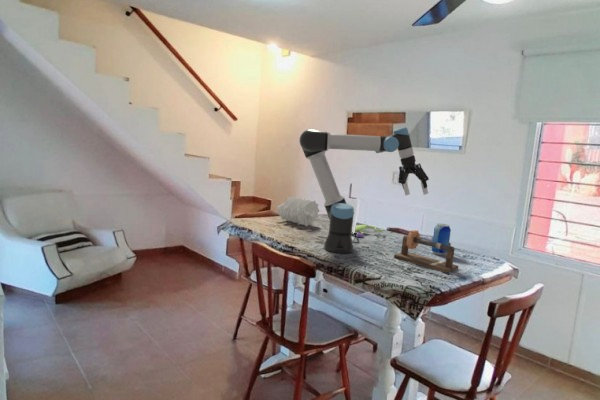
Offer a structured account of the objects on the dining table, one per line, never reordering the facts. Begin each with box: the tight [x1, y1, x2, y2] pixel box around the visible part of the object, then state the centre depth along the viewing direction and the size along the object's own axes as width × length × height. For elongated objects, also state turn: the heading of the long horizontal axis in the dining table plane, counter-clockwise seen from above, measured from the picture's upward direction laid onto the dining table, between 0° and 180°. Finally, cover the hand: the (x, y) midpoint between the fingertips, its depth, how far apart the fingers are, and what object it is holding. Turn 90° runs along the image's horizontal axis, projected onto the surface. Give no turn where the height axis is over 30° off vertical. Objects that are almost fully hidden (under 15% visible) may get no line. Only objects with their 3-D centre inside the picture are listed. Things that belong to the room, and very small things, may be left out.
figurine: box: [355, 224, 385, 239], centre depth 267 cm, size 18×27×6 cm
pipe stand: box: [393, 234, 459, 274], centre depth 210 cm, size 12×28×11 cm, turn 45°
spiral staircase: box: [276, 195, 320, 227], centre depth 282 cm, size 18×18×25 cm
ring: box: [406, 229, 421, 250], centre depth 215 cm, size 9×2×9 cm, turn 135°
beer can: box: [431, 223, 452, 256], centre depth 232 cm, size 8×8×16 cm
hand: (416, 194), depth 232 cm, fingers open, 13 cm apart
